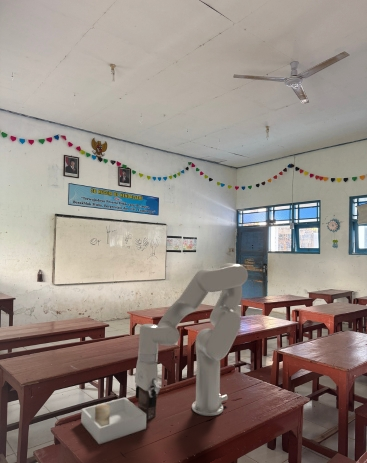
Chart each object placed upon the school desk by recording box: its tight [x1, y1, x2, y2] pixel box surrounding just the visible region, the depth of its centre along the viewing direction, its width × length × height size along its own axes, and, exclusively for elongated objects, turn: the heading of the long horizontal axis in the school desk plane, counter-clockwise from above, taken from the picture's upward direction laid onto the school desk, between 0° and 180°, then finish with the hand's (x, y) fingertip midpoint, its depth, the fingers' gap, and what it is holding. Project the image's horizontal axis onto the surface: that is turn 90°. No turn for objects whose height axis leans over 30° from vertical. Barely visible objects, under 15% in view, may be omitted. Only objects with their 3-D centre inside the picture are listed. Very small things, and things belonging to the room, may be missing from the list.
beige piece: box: [95, 403, 110, 427], centre depth 121 cm, size 5×5×7 cm
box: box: [137, 386, 157, 420], centre depth 132 cm, size 6×4×12 cm
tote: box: [80, 397, 147, 445], centre depth 124 cm, size 18×17×5 cm
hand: (145, 402), depth 132 cm, fingers open, 9 cm apart
